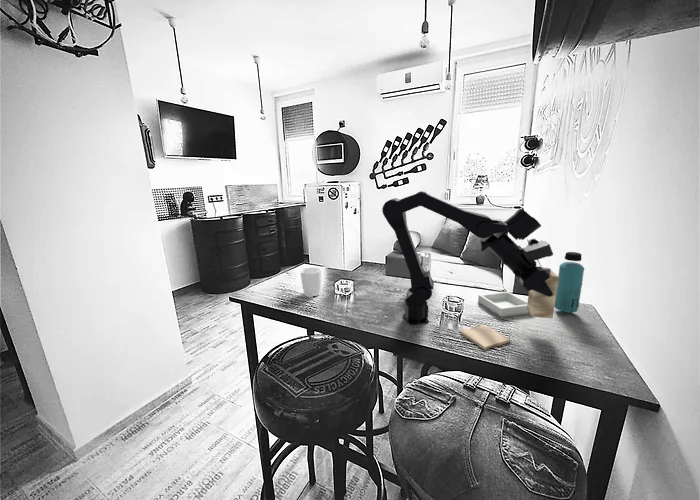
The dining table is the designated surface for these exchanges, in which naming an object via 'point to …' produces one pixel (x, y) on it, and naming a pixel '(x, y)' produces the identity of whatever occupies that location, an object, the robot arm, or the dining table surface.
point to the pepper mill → (543, 298)
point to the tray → (503, 304)
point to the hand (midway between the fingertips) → (548, 291)
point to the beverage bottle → (569, 283)
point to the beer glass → (425, 260)
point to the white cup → (311, 281)
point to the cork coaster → (485, 337)
